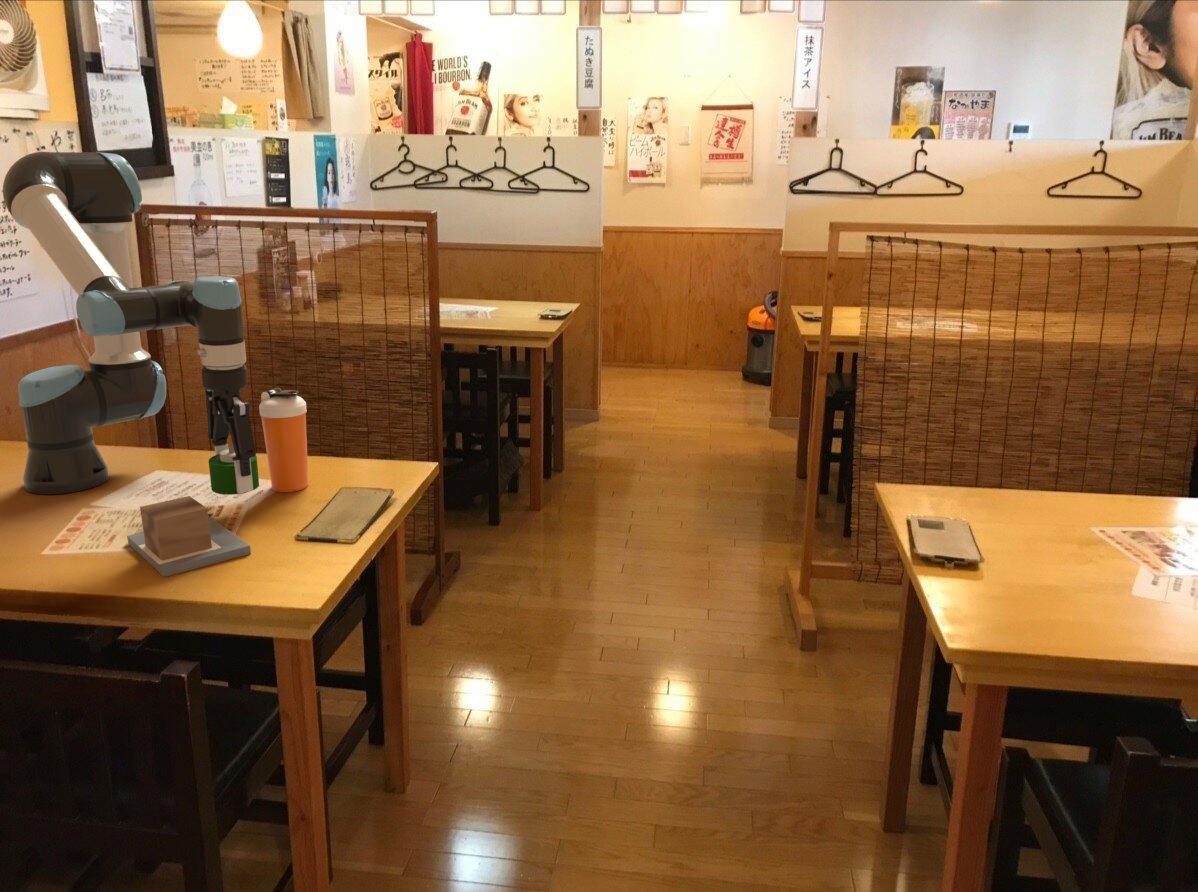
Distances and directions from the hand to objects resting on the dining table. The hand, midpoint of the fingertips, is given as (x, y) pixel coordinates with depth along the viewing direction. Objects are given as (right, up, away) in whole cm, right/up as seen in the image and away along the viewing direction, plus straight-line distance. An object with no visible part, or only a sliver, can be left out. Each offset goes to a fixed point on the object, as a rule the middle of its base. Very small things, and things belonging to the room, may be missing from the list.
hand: (235, 484), depth 173 cm
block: (-3, -10, -18) cm, 20 cm away
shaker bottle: (+5, -1, +17) cm, 17 cm away
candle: (0, -1, 0) cm, 1 cm away
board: (-2, -10, -14) cm, 18 cm away
